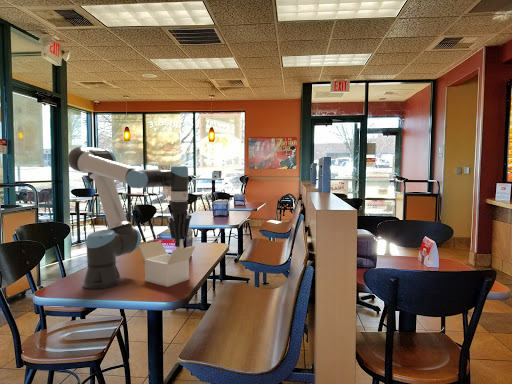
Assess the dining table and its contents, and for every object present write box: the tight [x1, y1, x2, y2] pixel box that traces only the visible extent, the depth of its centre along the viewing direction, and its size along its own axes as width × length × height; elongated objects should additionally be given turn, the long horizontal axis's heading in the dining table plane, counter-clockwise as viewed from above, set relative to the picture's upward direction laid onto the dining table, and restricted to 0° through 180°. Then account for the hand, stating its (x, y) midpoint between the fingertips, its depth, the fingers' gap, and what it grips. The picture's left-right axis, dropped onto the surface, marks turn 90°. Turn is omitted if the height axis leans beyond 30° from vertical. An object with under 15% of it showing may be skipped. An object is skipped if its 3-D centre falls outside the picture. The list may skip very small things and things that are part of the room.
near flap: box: [167, 245, 196, 265], centre depth 157 cm, size 13×8×1 cm
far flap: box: [138, 241, 168, 261], centre depth 169 cm, size 13×8×1 cm
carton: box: [144, 253, 190, 288], centre depth 163 cm, size 13×15×10 cm
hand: (179, 253), depth 158 cm, fingers closed
